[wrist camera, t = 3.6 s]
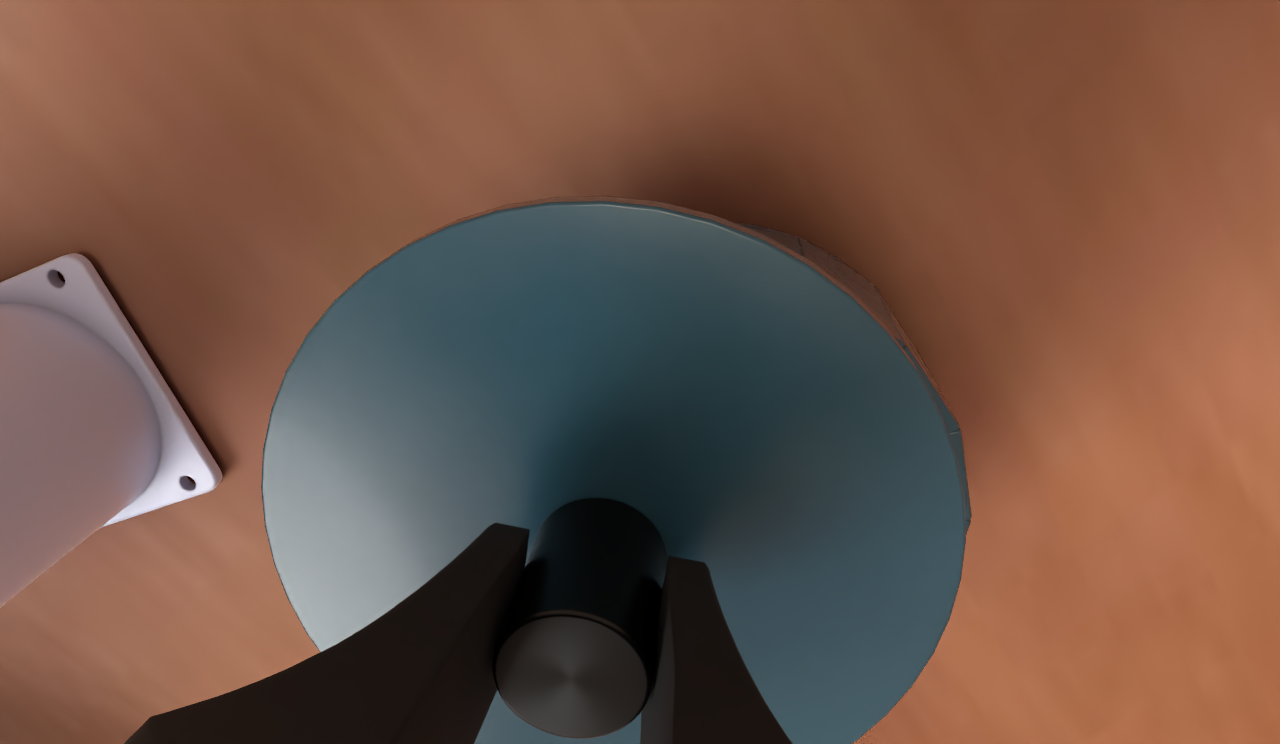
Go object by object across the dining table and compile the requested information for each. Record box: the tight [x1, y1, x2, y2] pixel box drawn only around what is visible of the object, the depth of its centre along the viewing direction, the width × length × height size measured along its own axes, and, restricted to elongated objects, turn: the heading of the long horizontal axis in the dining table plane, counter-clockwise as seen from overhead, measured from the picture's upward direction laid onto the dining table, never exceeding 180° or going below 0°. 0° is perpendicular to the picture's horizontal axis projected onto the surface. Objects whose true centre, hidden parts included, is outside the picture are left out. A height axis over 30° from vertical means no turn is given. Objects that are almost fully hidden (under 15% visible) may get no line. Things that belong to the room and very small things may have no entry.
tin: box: [733, 222, 972, 534], centre depth 22 cm, size 12×12×5 cm
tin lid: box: [261, 196, 966, 744], centre depth 14 cm, size 13×13×4 cm
